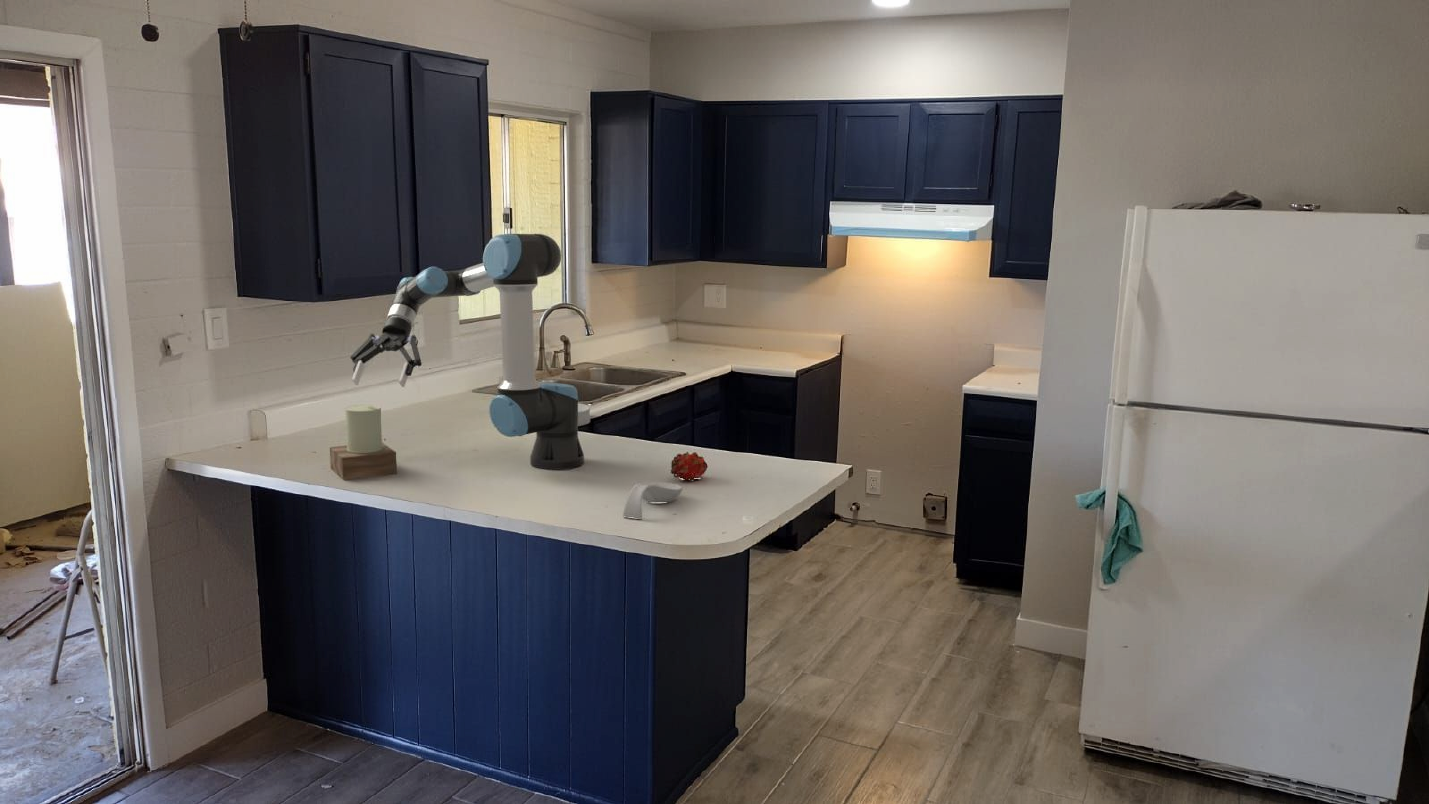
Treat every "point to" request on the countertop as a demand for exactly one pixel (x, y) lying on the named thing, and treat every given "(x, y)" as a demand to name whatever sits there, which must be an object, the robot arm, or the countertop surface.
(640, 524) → the countertop surface
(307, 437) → the countertop surface
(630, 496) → the spoon rest
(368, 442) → the can
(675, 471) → the red bumpy oval piece
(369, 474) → the walnut block
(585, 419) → the dish
